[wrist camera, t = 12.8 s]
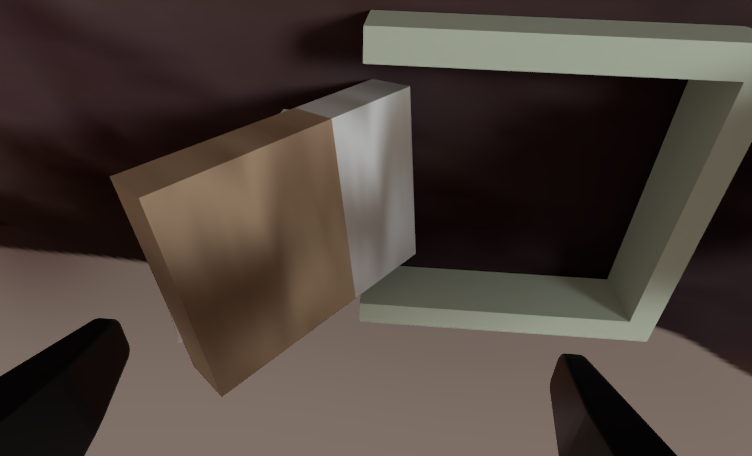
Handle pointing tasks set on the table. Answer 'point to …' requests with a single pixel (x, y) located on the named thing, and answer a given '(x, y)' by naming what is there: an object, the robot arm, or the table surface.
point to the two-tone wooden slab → (276, 224)
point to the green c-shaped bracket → (659, 198)
